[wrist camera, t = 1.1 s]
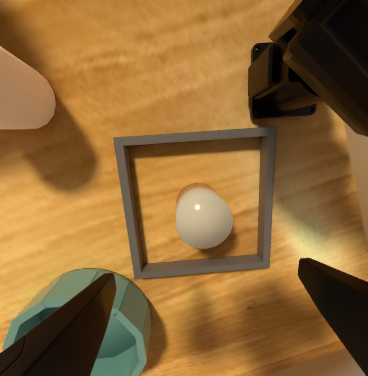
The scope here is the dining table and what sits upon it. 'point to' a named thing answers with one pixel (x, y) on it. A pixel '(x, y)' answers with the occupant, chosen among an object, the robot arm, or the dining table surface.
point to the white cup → (23, 95)
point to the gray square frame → (212, 263)
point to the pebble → (202, 216)
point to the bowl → (117, 327)
